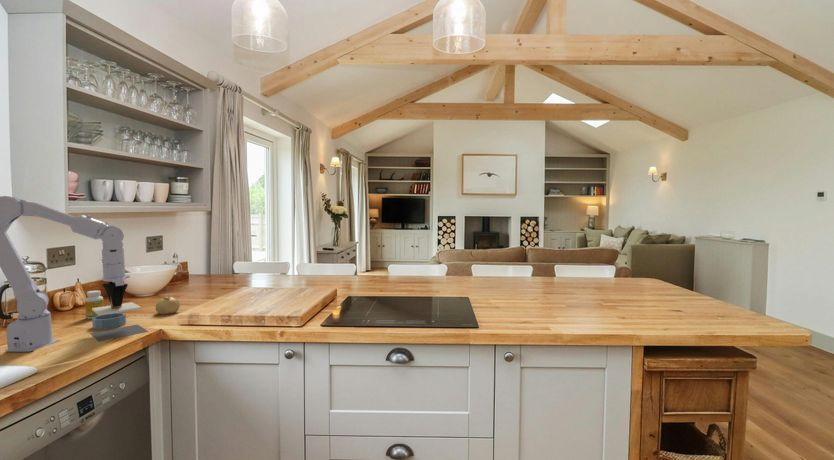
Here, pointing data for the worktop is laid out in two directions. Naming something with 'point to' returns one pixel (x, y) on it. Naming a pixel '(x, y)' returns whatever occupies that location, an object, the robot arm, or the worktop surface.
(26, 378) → the worktop surface
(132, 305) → the cover
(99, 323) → the bowl
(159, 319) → the worktop surface
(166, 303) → the onion
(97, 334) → the mat
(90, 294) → the supplement bottle
